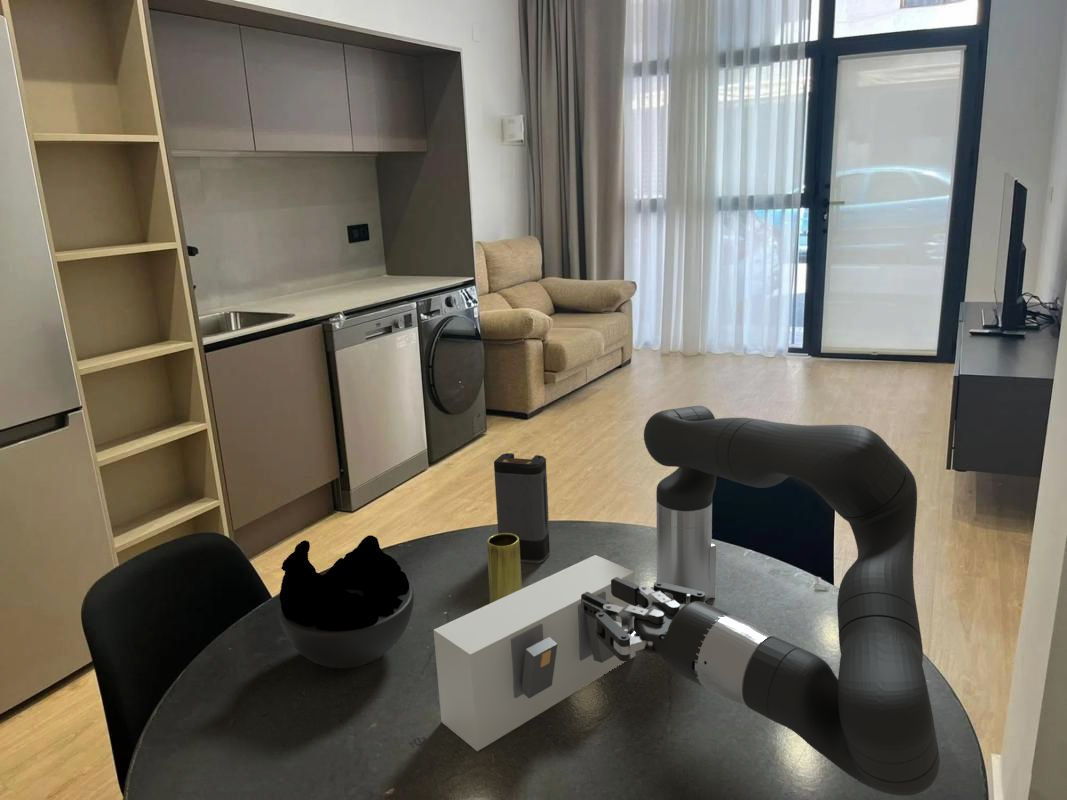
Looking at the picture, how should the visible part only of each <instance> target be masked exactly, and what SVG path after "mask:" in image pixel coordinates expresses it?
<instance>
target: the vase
mask: <svg viewBox="0 0 1067 800" xmlns="http://www.w3.org/2000/svg"><path fill="white" fill-rule="evenodd" d="M486 542H487V547H486V548H487V567H488V587H489V588H488V589H489V604H490V603H492V602H495V601H497V600H499V599H501V598H503V597H505V596H508V595H510V594H512V593H514V592H516V591H518V590H521V589H523V582H522V581H523V580H522V569H521V568H522V566H521V565H522V564H521V563H522V562H520V544H519V537H518V536H516V535H515V534H511V533H500V534H498V533H496V534H493V535H491V536H489V537H488V538H487V540H486Z"/></svg>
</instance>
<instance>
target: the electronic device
mask: <svg viewBox="0 0 1067 800" xmlns="http://www.w3.org/2000/svg"><path fill="white" fill-rule="evenodd" d="M493 467H494V468H493V470H494V487H495V490H494V491H495V502H496V503H495V504H496V505H495V506H496V518H497V519H496V520H497V534H500V533H511V534H515V535H516V536H518V537H519V544H520V563H529V564H530V563H531V564H541V563H543V562H544V561H545V560H546V559H547V557H548V556H549V555H550V552H551V551H550V550H551V549H550V548H551V546H550V528H549V527H550V526H549V525H550V524H549V499H548V497H549V496H548V481H547V480H548V477H547V476H548V475H547V458H546V457H544V456H543V455H539V454H535V455H534V456H533V457H532V458H516V457H515V453H512V452H511V453H509V452H508V453H503V454H501V455H500V456H499V457H497V458H496V459H495V460H494V461H493Z"/></svg>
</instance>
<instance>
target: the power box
mask: <svg viewBox="0 0 1067 800" xmlns="http://www.w3.org/2000/svg"><path fill="white" fill-rule="evenodd" d="M616 577H618V578H620V579H623V580H627V581H629V582H631V583H633V584H636V583H635V571H634V570H631V569H628V568H626V567H625V566H622V565H620V564H617V563H615V562H612V561H611V560H608V559H606V558H604V557H601V556H598V555H596V554H594V555H593V556H590V557H587V558H585V559H584V560H582V561H578V563H575V564H573V565H571V566H568V567H566V568H564V569H562V570H560V571H558V572H556V573H553V574H551V575H548V576H547V577H545V578H542V579H540V580H537V581H536V582H533V583H531V584H530V585H527V586H525V587H522V589H521V590H518V591H516V592H514V593H512V594H510V595H508V596H505V597H503V598H501V599H499V600H497V601H495V602H492V603H490V602H489V604H486V605H484V606H482V607H480V608H478V609H475V610H473V611H471V612H469V613H467V614H464V615H462V616H460V617H458V618H455V619H454V620H452V621H449V622H447V623H445V624H443V625H441V626H439V627H437V628H434V629H433V637H434V649H435V663H436V674H437V676H436V677H437V685H438V697H439V698H438V699H439V710H440V719H441V720H440V721H441V723H442V724H443V725H444V726H446V727H447V728H448V729H449V730H450V731H451V732H453V733H454V734H456V735H457V736H458V737H459V738H461V740H463V741H464V742H465V743H466V744H468V745H469V746H470V747H471V748H473V750H475V751H476V752H479V751H480V750H483V749H484V748H485V747H487V746H488V745H491V744H492V743H494V742H495V741H497V740H498V739H500V738H502V737H504V736H505V735H507V734H508V733H511V732H512V731H513V730H516V729H517V728H518V727H520V726H522V725H524V724H525V723H526V722H529V721H530V720H532V719H534V718H535V717H537V716H538V715H540V714H542V713H543V712H546V711H547V710H548V709H550V708H552V707H553V706H555V705H556V704H558V703H560V702H562V701H563V700H565V699H566V698H568V697H570V696H571V695H573V694H575V693H576V692H578V691H580V690H581V689H583V688H585V687H586V686H589V685H590V684H592V683H594V682H595V681H597V680H598V679H600V678H601V677H603V676H605V675H606V674H608V673H609V671H610V672H611V671H613V670H615V669H617V668H618V667H620V666H621V665H623V664H624V662H625V663H626V662H627V661H620V660H619V659H618V658H617V657H616V656H613V657H611V658H610V659H608V660H606V661H604V662H603V663H601V662H598V661H594V658H593V652H592V647H591V641H590V636H589V630H588V625H587V619H586V614H585V613H583V611H582V607H581V595H582V594H584V593H586V592H589V593H591V594H593V595H595V596H597V597H600V598H602V599H604V600H606V601H608V602H609V603H613V604H614V605H617V606H620V607H624V608H625V607H626V606H627V605H631V604H629V603H627V602H624V601H622V600H620V599H618V598H616V597H614V596H613V595H612V593H611V580H612V579H614V578H616ZM632 606H633V605H632ZM634 618H635V617H633V628H634ZM616 620H617V622H620V623H621V618H620V617H619V616H616ZM548 637H550V638H551V639H552V640H553V641H555V642H556V643H557V651H556V659H555V666H554V673H553V681H552V686H550V687H548V688H547V689H545V690H543V691H541V692H540V693H538V694H536V695H535V696H533V697H531V698H528V697H527V696H526V695H525V694H524V693H522V692H521V687H522V679H523V670H524V661H525V653H526V649H527V648H529V647H531V646H533V645H535V644H537V643H539V642H540V641H542V640H544V639H546V638H548ZM635 657H636V651H634V652H631V653H630V660H631V659H633V658H635ZM622 663H623V664H622ZM619 665H620V666H619ZM617 666H618V667H617ZM614 668H615V669H614ZM612 669H613V670H612ZM604 674H605V675H604Z"/></svg>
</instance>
